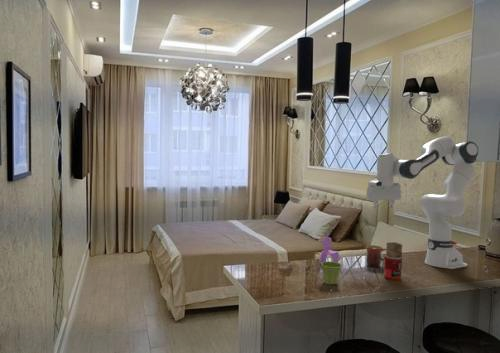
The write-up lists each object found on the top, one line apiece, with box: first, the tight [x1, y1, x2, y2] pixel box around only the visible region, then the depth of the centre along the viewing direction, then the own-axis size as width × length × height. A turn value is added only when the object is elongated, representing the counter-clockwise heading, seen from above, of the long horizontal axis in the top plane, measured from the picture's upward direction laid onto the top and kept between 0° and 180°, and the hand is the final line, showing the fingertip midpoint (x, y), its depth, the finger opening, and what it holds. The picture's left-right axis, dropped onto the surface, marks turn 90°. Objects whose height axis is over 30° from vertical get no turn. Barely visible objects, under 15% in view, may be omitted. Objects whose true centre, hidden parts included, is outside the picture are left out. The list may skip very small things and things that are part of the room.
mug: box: [365, 244, 387, 268], centre depth 211 cm, size 12×9×10 cm
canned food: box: [384, 254, 403, 281], centre depth 190 cm, size 8×8×11 cm
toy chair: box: [318, 236, 340, 265], centre depth 210 cm, size 8×9×15 cm
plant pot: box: [320, 261, 343, 285], centre depth 180 cm, size 9×9×9 cm
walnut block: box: [385, 241, 403, 258], centre depth 190 cm, size 5×5×6 cm
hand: (383, 207), depth 214 cm, fingers open, 8 cm apart
